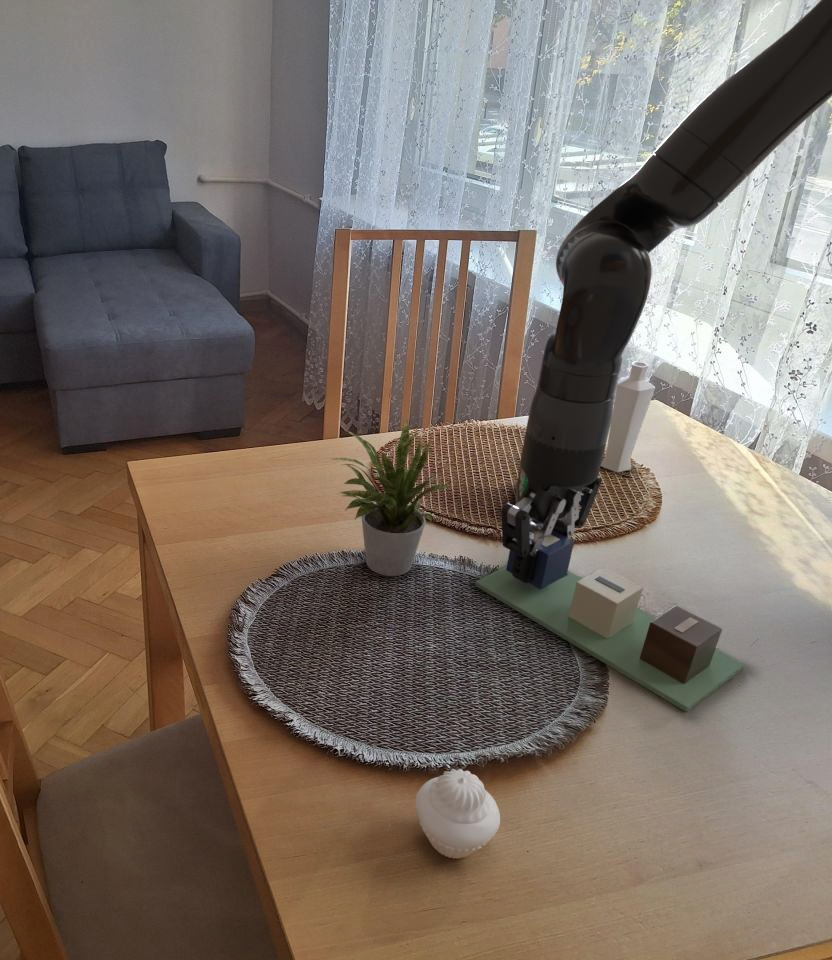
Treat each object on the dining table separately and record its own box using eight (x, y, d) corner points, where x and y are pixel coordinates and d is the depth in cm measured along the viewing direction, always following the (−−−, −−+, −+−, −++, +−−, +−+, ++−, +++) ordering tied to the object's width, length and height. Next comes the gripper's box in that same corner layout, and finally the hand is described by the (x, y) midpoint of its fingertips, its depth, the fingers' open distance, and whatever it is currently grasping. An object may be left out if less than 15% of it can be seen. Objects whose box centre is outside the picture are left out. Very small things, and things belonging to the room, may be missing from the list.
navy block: (531, 556, 97) (538, 522, 95) (566, 575, 93) (574, 540, 91) (505, 570, 95) (512, 535, 92) (540, 590, 91) (548, 554, 89)
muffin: (403, 859, 65) (412, 795, 62) (418, 799, 70) (428, 737, 67) (487, 888, 63) (502, 823, 60) (497, 823, 68) (511, 760, 65)
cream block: (593, 601, 92) (602, 566, 89) (633, 622, 88) (643, 586, 86) (567, 616, 89) (576, 581, 87) (607, 639, 86) (617, 603, 84)
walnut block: (664, 641, 86) (676, 604, 84) (709, 665, 82) (723, 628, 80) (638, 658, 84) (650, 621, 81) (684, 684, 80) (697, 646, 78)
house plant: (328, 520, 108) (335, 401, 100) (441, 529, 106) (458, 408, 98) (319, 586, 96) (327, 457, 88) (447, 599, 93) (467, 467, 85)
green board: (531, 556, 100) (532, 551, 100) (742, 669, 83) (744, 663, 82) (474, 585, 95) (475, 580, 95) (686, 712, 78) (688, 707, 78)
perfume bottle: (630, 476, 116) (657, 373, 109) (596, 468, 118) (620, 367, 111) (636, 463, 120) (662, 361, 112) (602, 455, 122) (626, 355, 114)
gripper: (555, 464, 79) (523, 612, 88) (643, 425, 86) (606, 565, 95) (488, 436, 85) (465, 577, 93) (576, 400, 92) (547, 535, 100)
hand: (536, 570), depth 94 cm, fingers closed on navy block, 4 cm apart
